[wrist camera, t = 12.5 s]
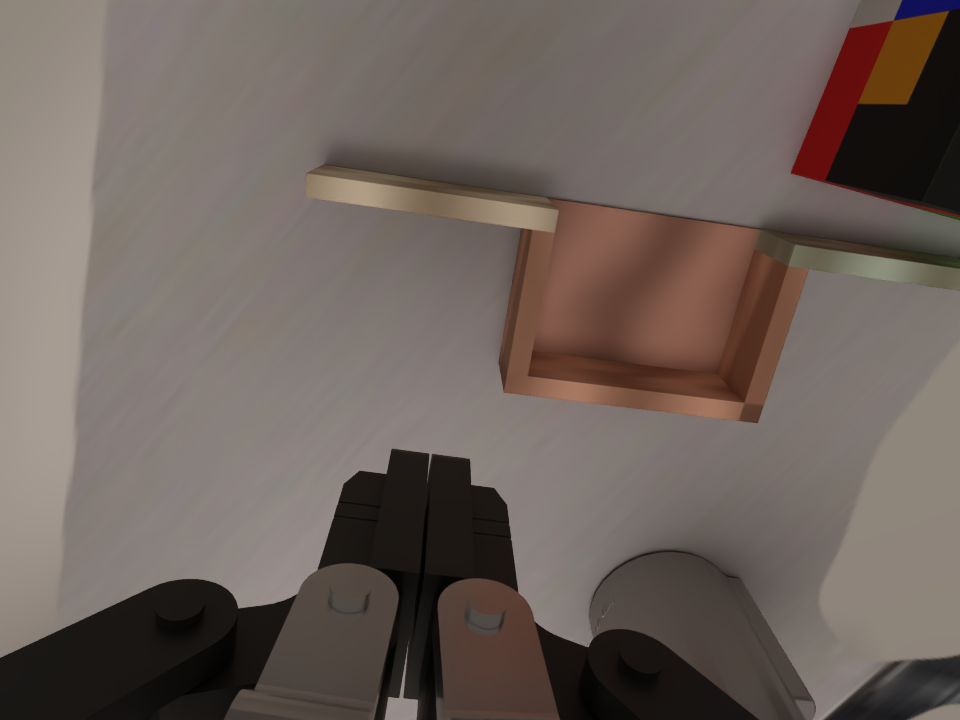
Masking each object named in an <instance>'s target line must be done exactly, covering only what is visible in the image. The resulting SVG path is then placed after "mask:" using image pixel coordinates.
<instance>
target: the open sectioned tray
mask: <svg viewBox="0 0 960 720" xmlns="http://www.w3.org/2000/svg"><path fill="white" fill-rule="evenodd" d="M305 197H308V198H315V199H322V200H329V201H336V202H343V203H350V204H357V205H364V206H371V207H378V208H385V209H392V210H399V211H406V212H413V213H420V214H427V215H434V216H441V217H448V218H455V219H462V220H469V221H476V222H483V223H490V224H497V225H504V226H511V227H518V228H521V234H520V240H519V246H518V252H517V258H516V263H515V269H514V275H513V281H512V287H511V293H510V299H509V305H508V310H507V316H506V322H505V328H504V334H503V340H502V346H501V352H500V357H499V367H500V373H501V379H502V384H503V390H504V393H512V394H520V395H528V396H537V397H545V398H553V399H562V400H570V401H578V402H587V403H595V404H603V405H611V406H620V407H628V408H636V409H645V410H653V411H661V412H670V413H678V414H686V415H695V416H703V417H711V418H720V419H728V420H736V421H744V422H753V423H758V421H759V418H760V415H761V412H762V409H763V406H764V403H765V400H766V397H767V393H768V390H769V387H770V384H771V381H772V378H773V375H774V372H775V369H776V366H777V363H778V360H779V357H780V354H781V351H782V348H783V345H784V342H785V339H786V336H787V333H788V330H789V327H790V324H791V321H792V318H793V315H794V312H795V309H796V306H797V303H798V300H799V297H800V294H801V291H802V288H803V285H804V282H805V279H806V276H807V273H808V270H809V269H811V270H818V271H825V272H832V273H839V274H846V275H853V276H860V277H867V278H874V279H881V280H888V281H895V282H902V283H909V284H916V285H923V286H930V287H937V288H944V289H951V290H958V291H960V259H958V258H952V257H945V256H938V255H931V254H925V253H918V252H911V251H904V250H898V249H891V248H884V247H877V246H870V245H864V244H857V243H850V242H843V241H837V240H830V239H823V238H816V237H809V236H803V235H796V234H789V233H782V232H776V231H769V230H762V229H755V228H748V227H742V226H735V225H728V224H721V223H715V222H708V221H701V220H694V219H687V218H681V217H674V216H667V215H660V214H654V213H647V212H640V211H633V210H626V209H620V208H613V207H606V206H599V205H593V204H586V203H579V202H572V201H566V200H559V199H552V198H545V197H538V196H532V195H525V194H518V193H511V192H505V191H498V190H491V189H484V188H477V187H471V186H464V185H457V184H450V183H444V182H437V181H430V180H423V179H416V178H410V177H403V176H396V175H389V174H383V173H376V172H369V171H362V170H355V169H349V168H342V167H335V166H328V165H322V166H320V167H318V168H316V169H314V170H312V171H310V172H308V173H306V188H305Z"/></svg>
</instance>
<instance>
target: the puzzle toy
mask: <svg viewBox="0 0 960 720" xmlns="http://www.w3.org/2000/svg"><path fill="white" fill-rule="evenodd" d="M791 173H792V174H795V175H799V176H803V177H806V178H810V179H813V180H817V181H821V182H824V183H828V184H831V185H835V186H839V187H842V188H846V189H849V190H853V191H857V192H860V193H864V194H867V195H871V196H875V197H878V198H882V199H886V200H889V201H893V202H896V203H900V204H904V205H907V206H911V207H914V208H918V209H922V210H925V211H929V212H932V213H936V214H940V215H943V216H947V217H950V218H954V219H958V220H960V0H861V2H860V4H859V7H858V9H857V12H856V14H855V17H854V19H853V22H852V24H851V26H850V29H849V31H848V34H847V36H846V39H845V41H844V44H843V46H842V48H841V51H840V53H839V56H838V58H837V61H836V63H835V66H834V68H833V71H832V73H831V75H830V78H829V80H828V83H827V85H826V88H825V90H824V93H823V95H822V97H821V100H820V102H819V105H818V107H817V110H816V112H815V115H814V117H813V119H812V122H811V124H810V127H809V129H808V132H807V134H806V137H805V139H804V142H803V144H802V146H801V149H800V151H799V154H798V156H797V159H796V161H795V164H794V166H793V168H792V171H791Z"/></svg>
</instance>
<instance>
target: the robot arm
mask: <svg viewBox="0 0 960 720" xmlns="http://www.w3.org/2000/svg"><path fill="white" fill-rule="evenodd" d="M428 464H429V454H428V453H421V452H413V451H406V450H398V449H392V450H391V455H390V460H389V465H388V470H387V474H381V473H373V472H365V471H359V472H358V473H356V474H355V475H354V476H353V477H352V478H350V479H349V480H348V481H347V482H346V483H344V485H343V488H342V492H341V495H340V498H339V502H338V505H337V508H336V511H335V515H334V519H333V521H332V524H331V528H330V531H329V534H328V538H327V541H326V544H325V547H324V551H323V554H322V557H321V560H320V564H319V567H318V570H317V571H316V572H314V573H312V574H311V575H310V576H308V578H307V579H306V580H305V581H304V582H303V584H302V585H301V587H300V589H299V592H298V594H297V595H295V596H293V597H291V598H289V599H286V600H284V601H281V602H277V603H274V604H269V605H263V606H255V607H247V608H239V609H238V606H237V602H236V600H235V598H234V596H233V595H232V594H231V593H230V592H229V591H228V590H227V589H226V588H224V587H223V586H221V585H218V584H216V583H213V582H210V581H206V580H199V579H182V580H175V581H169V582H166V583H162V584H159V585H157V586H154V587H152V588H149V589H147V590H145V591H143V592H141V593H139V594H136V595H134V596H132V597H130V598H128V599H126V600H124V601H121V602H119V603H117V604H115V605H113V606H111V607H109V608H106V609H104V610H102V611H100V612H98V613H96V614H94V615H91V616H89V617H87V618H85V619H83V620H81V621H79V622H76V623H74V624H72V625H70V626H68V627H66V628H63V629H61V630H59V631H57V632H55V633H53V634H51V635H48V636H46V637H44V638H42V639H40V640H38V641H36V642H34V643H31V644H29V645H27V646H25V647H23V648H21V649H19V650H16V651H14V652H12V653H10V654H8V655H6V656H4V657H1V658H0V720H384V719H385V714H386V708H387V701H388V697H394V698H399V695H400V689H401V683H402V677H403V671H404V665H405V659H406V653H407V647H408V653H407V664H406V675H405V686H404V697H403V698H407V699H417V700H418V710H417V720H812V719H813V717H814V715H815V711H816V706H815V702H814V700H813V698H812V697H811V695H810V693H809V692H808V690H807V688H806V687H805V685H804V683H803V682H802V680H801V678H800V677H799V675H798V673H797V672H796V670H795V668H794V667H793V665H792V663H791V662H790V660H789V658H788V657H787V655H786V653H785V652H784V650H783V648H782V647H781V645H780V643H779V642H778V640H777V638H776V637H775V635H774V633H773V632H772V630H771V628H770V627H769V625H768V623H767V622H766V620H765V618H764V617H763V615H762V613H761V612H760V610H759V608H758V607H757V605H756V603H755V602H754V600H753V598H752V597H751V595H750V593H749V592H748V590H747V588H746V587H745V585H744V583H743V582H742V580H741V579H739V578H731V577H727V576H725V575H724V574H723V573H721V572H720V571H719V570H718V569H717V568H716V567H715V566H714V565H713V564H711V563H709V562H708V561H706V560H704V559H702V558H700V557H697V556H694V555H690V554H687V553H678V552H662V553H654V554H650V555H646V556H642V557H639V558H637V559H634V560H632V561H630V562H628V563H626V564H624V565H623V566H621V567H620V568H618V569H617V570H615V571H614V572H613V573H612V574H611V575H610V576H608V577H607V578H606V579H605V580H604V581H603V583H602V584H601V586H600V587H599V589H598V590H597V591H596V593H595V596H594V598H593V601H592V603H591V609H590V616H589V617H590V624H591V630H592V634H593V637H594V639H593V640H592V641H591V643H590V645H589V648H588V647H585V646H582V645H580V644H577V643H574V642H571V641H569V640H566V639H563V638H561V637H559V636H556V635H554V634H552V633H550V632H548V631H547V630H545V629H544V628H542V627H541V626H539V625H538V624H537V623H536V622H535V621H534V617H533V613H532V610H531V608H530V606H529V604H528V603H527V601H526V600H525V599H524V598H523V597H522V596H521V595H520V594H519V593H518V586H517V579H516V571H515V563H514V556H513V548H512V541H511V533H510V526H509V517H508V510H507V504H506V503H505V502H504V500H503V499H502V498H501V497H500V495H499V494H498V493H497V491H496V490H495V489H494V488H489V487H482V486H474V485H471V470H470V459H466V458H459V457H451V456H444V455H436V454H432V458H431V463H430V469H429V475H428ZM427 477H428V481H427ZM408 641H409V642H408Z"/></svg>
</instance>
